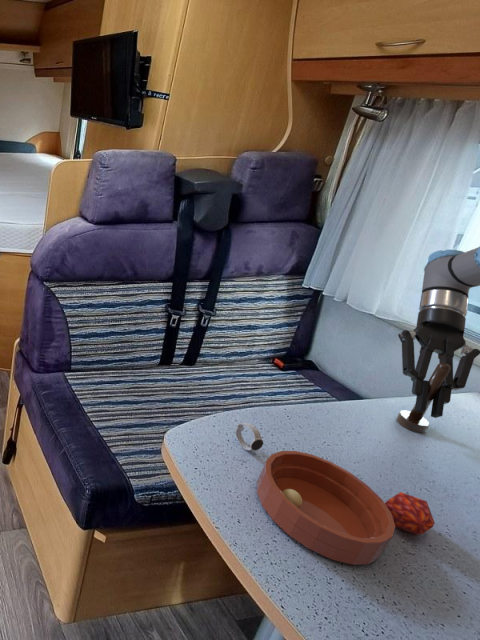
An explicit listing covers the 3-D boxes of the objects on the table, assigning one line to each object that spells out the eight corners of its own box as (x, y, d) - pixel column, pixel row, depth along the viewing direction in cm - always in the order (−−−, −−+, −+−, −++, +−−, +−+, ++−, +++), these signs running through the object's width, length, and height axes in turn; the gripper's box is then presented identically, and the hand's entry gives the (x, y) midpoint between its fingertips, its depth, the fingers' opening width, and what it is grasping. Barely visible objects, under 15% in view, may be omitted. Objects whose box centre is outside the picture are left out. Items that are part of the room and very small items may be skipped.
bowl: (369, 504, 82) (382, 481, 80) (390, 590, 68) (407, 566, 66) (256, 458, 90) (265, 436, 88) (254, 526, 76) (265, 502, 74)
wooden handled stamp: (422, 423, 104) (457, 362, 98) (428, 436, 100) (466, 374, 94) (393, 413, 106) (427, 353, 100) (398, 426, 102) (433, 364, 96)
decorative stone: (412, 531, 80) (436, 554, 73) (367, 507, 83) (386, 527, 75) (430, 500, 79) (456, 520, 72) (384, 476, 82) (405, 493, 75)
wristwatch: (247, 456, 90) (255, 436, 88) (229, 437, 95) (237, 418, 93) (259, 455, 91) (268, 435, 89) (241, 436, 95) (249, 417, 93)
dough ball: (298, 503, 80) (304, 490, 79) (299, 515, 78) (305, 503, 77) (278, 494, 81) (284, 481, 80) (278, 506, 79) (284, 494, 78)
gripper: (476, 330, 104) (465, 431, 97) (391, 309, 111) (375, 402, 104) (498, 319, 98) (487, 426, 91) (407, 297, 105) (391, 395, 98)
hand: (428, 413), depth 98 cm, fingers closed on wooden handled stamp, 2 cm apart
